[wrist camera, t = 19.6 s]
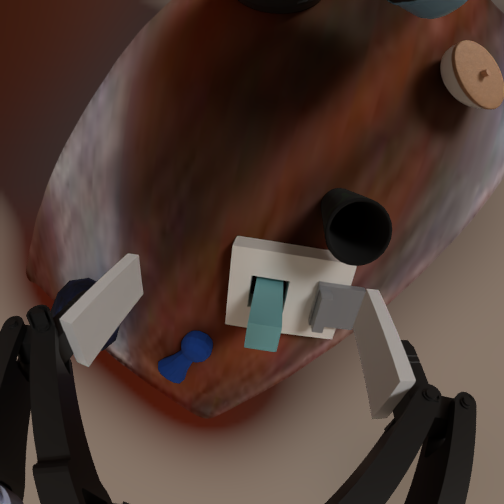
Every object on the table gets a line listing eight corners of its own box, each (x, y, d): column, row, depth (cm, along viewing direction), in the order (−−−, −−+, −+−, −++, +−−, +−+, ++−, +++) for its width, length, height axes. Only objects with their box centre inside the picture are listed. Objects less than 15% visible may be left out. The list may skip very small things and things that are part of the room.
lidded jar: (468, 122, 30) (503, 124, 21) (422, 83, 29) (453, 73, 20) (482, 78, 25) (515, 73, 17) (438, 38, 24) (467, 23, 16)
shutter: (319, 281, 39) (321, 294, 36) (364, 287, 38) (370, 300, 35) (308, 320, 42) (309, 334, 38) (350, 325, 41) (354, 339, 38)
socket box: (237, 235, 42) (232, 245, 38) (351, 254, 41) (357, 265, 37) (229, 310, 48) (225, 323, 44) (329, 324, 47) (331, 339, 43)
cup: (346, 240, 40) (367, 277, 29) (304, 216, 40) (311, 246, 29) (372, 197, 37) (404, 221, 26) (330, 171, 37) (349, 184, 26)
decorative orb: (72, 252, 41) (27, 317, 33) (136, 303, 43) (90, 373, 35) (85, 273, 53) (49, 325, 45) (136, 313, 55) (101, 367, 48)
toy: (184, 371, 57) (222, 342, 51) (175, 391, 52) (214, 365, 46) (159, 354, 56) (194, 322, 50) (149, 374, 50) (183, 344, 44)
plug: (258, 268, 44) (247, 322, 31) (283, 272, 44) (281, 327, 31) (255, 290, 45) (244, 347, 33) (279, 293, 45) (276, 352, 32)
